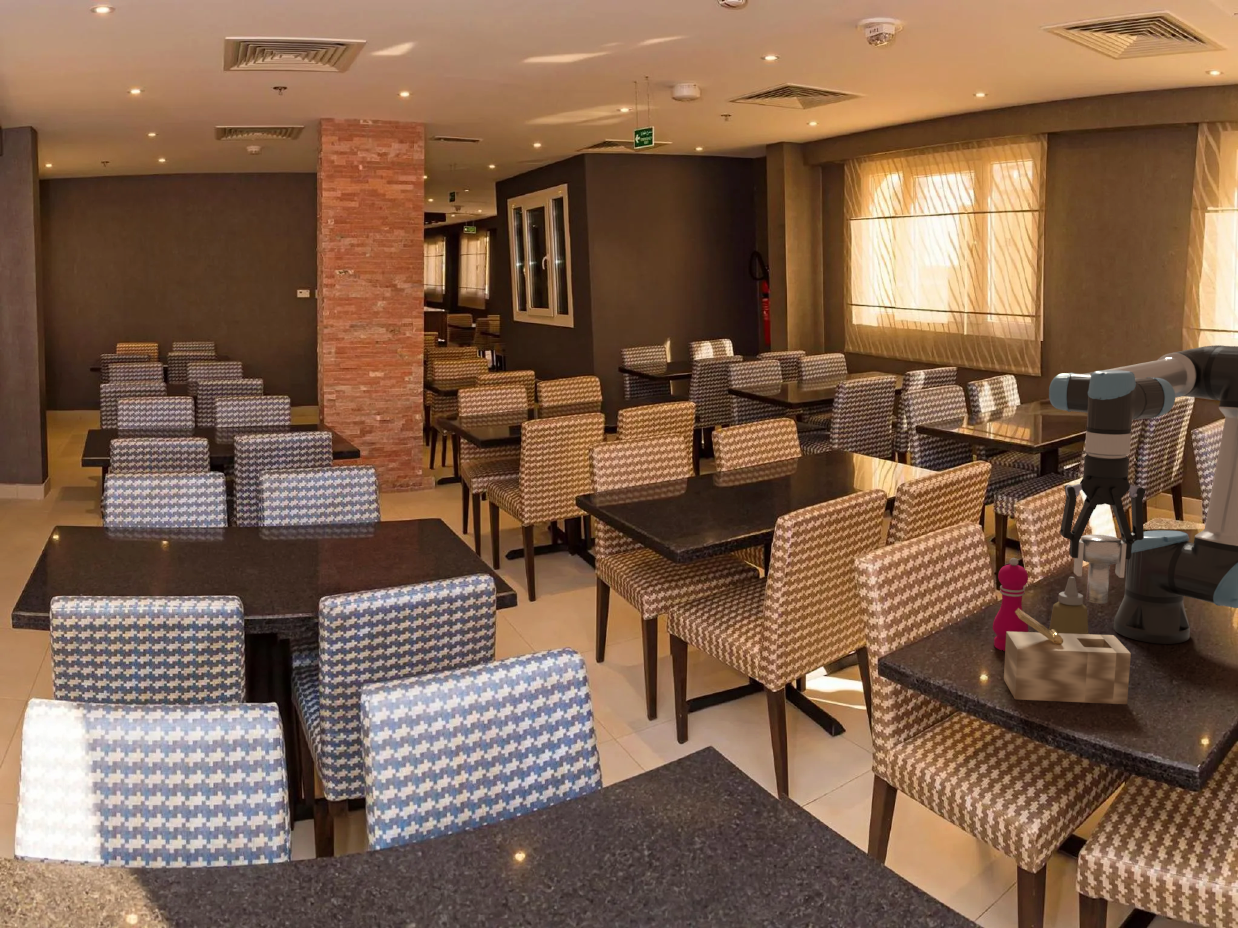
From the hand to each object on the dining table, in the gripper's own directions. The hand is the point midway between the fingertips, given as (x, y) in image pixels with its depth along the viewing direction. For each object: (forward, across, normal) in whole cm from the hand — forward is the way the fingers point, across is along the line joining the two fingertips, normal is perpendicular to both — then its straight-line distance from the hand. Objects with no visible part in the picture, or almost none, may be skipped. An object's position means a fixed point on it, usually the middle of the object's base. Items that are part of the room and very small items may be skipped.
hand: (1098, 574), depth 192 cm
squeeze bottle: (+24, 0, -17) cm, 29 cm away
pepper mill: (+24, +10, -24) cm, 35 cm away
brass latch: (+11, +10, 0) cm, 15 cm away
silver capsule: (+5, 0, 0) cm, 5 cm away
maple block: (+24, +5, 0) cm, 24 cm away
